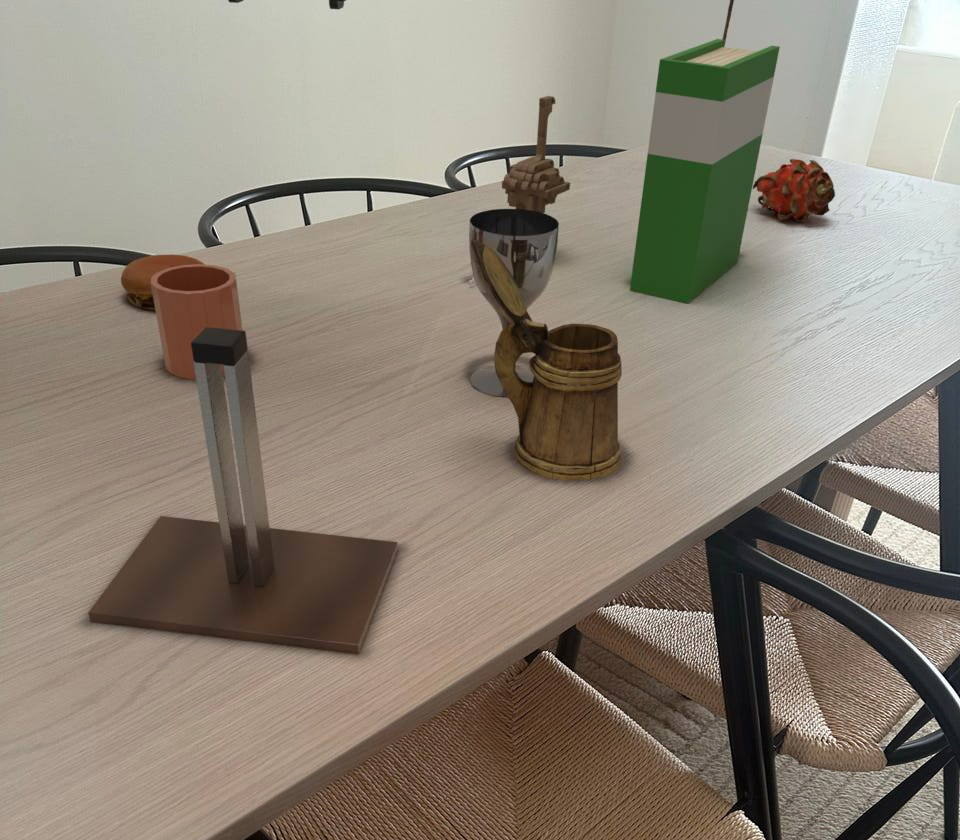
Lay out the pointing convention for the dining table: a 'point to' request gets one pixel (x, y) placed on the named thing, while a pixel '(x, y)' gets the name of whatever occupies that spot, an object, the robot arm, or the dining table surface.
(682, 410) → the dining table surface
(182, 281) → the holder
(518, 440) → the wooden mug
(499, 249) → the wine glass
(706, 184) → the hardback book
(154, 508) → the dining table surface
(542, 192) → the ostrich figurine
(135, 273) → the burger
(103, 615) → the board
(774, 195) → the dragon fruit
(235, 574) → the tongs
